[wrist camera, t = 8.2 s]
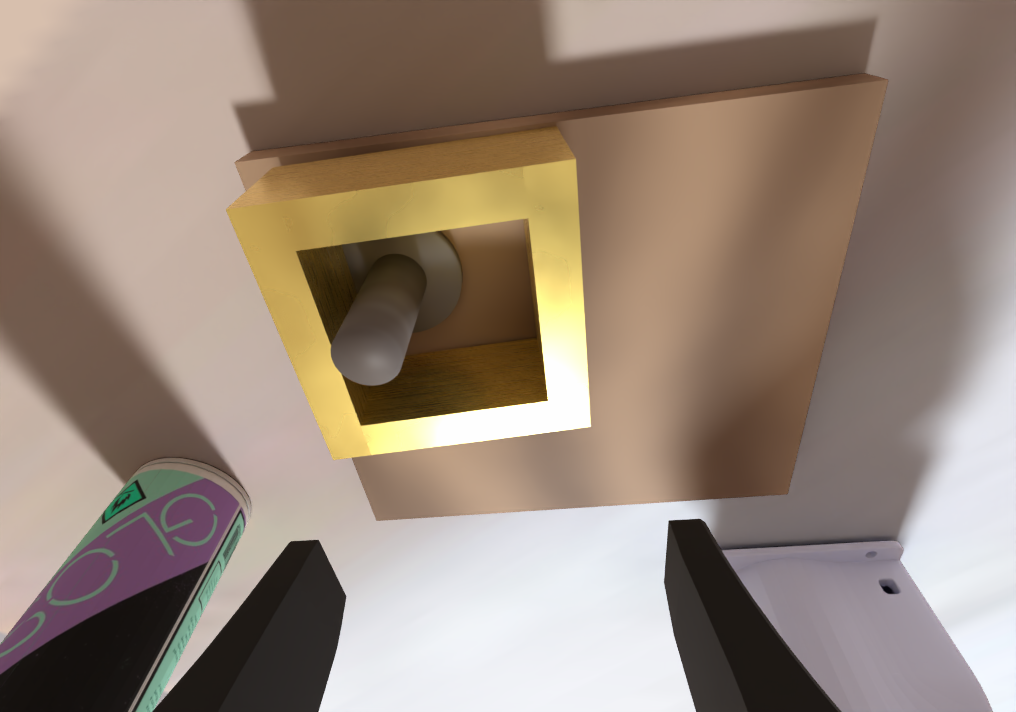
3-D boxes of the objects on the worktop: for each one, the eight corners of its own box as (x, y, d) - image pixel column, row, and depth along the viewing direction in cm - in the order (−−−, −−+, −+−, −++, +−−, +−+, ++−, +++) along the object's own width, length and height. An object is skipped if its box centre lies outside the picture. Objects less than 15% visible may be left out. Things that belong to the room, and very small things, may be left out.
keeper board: (864, 72, 15) (1028, 118, 10) (776, 473, 24) (842, 599, 19) (251, 151, 17) (138, 223, 12) (382, 500, 26) (349, 623, 21)
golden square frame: (556, 126, 15) (576, 159, 12) (573, 361, 20) (590, 426, 17) (272, 167, 15) (225, 209, 12) (354, 390, 20) (333, 460, 17)
